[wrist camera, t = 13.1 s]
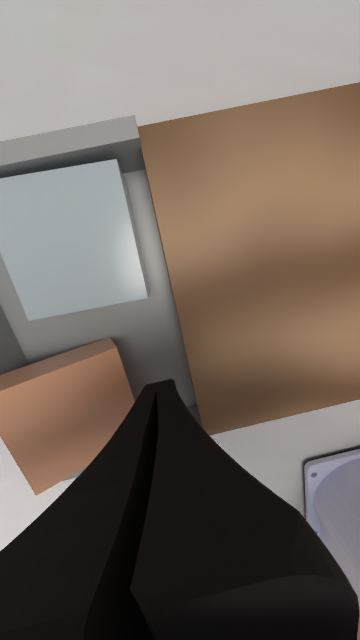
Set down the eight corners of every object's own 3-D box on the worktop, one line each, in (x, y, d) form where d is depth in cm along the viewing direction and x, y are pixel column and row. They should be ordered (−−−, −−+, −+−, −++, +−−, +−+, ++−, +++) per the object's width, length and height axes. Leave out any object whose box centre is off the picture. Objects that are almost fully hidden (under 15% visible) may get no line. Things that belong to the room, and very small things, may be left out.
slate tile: (150, 291, 10) (147, 297, 9) (53, 309, 10) (28, 320, 8) (126, 180, 9) (116, 158, 7) (12, 199, 9) (-29, 183, 7)
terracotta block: (36, 495, 9) (41, 459, 10) (145, 432, 11) (134, 411, 12) (-22, 399, 7) (-4, 376, 9) (116, 347, 9) (109, 336, 11)
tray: (197, 406, 13) (206, 446, 11) (62, 438, 13) (34, 487, 10) (142, 159, 9) (134, 115, 7) (-54, 199, 9) (-152, 172, 6)
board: (426, 352, 14) (479, 370, 12) (197, 406, 13) (204, 436, 11) (469, 92, 10) (564, 41, 7) (142, 159, 9) (136, 126, 7)
